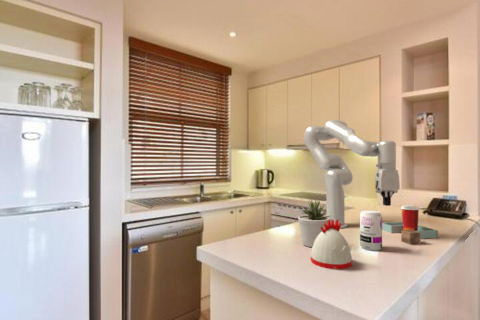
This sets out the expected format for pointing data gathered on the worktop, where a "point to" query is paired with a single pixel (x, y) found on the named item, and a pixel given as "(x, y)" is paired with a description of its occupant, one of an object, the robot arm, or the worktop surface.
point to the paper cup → (410, 217)
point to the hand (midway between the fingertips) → (386, 205)
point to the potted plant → (312, 223)
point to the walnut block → (410, 237)
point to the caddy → (424, 231)
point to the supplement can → (371, 230)
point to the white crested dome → (331, 248)
